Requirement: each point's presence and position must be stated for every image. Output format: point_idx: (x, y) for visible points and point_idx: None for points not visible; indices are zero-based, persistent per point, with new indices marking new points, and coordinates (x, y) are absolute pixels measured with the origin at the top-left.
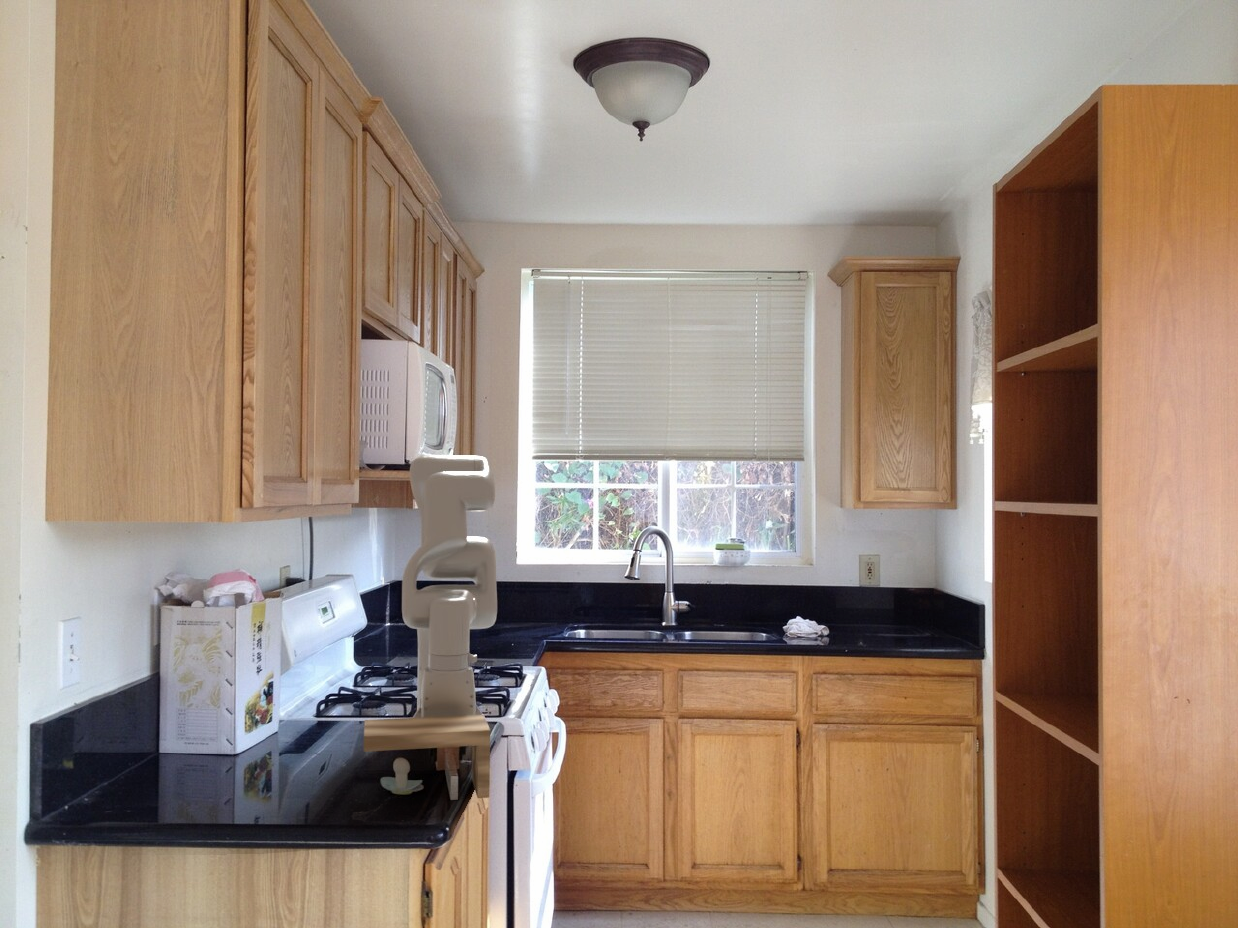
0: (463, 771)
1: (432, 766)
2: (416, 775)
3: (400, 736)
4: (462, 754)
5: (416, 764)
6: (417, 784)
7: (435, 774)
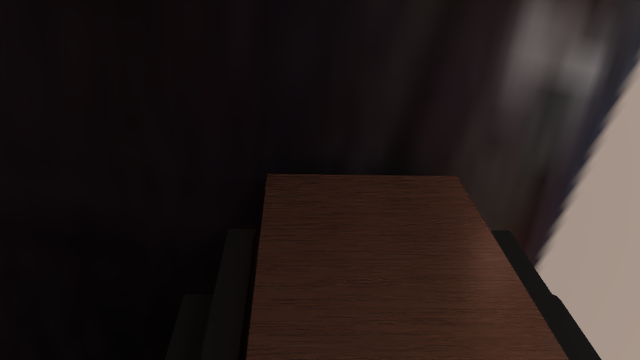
0: None
1: (240, 154)
2: (118, 339)
3: None
4: None
5: (92, 65)
6: None
7: None
